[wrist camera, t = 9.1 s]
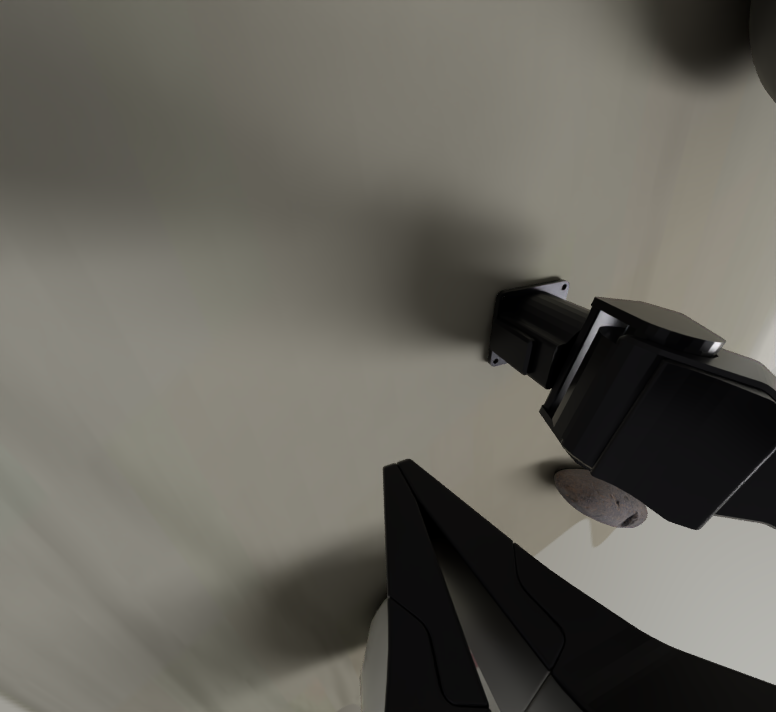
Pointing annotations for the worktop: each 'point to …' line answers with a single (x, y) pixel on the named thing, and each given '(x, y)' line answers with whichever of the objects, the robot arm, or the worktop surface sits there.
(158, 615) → the worktop surface
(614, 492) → the perforated stone tool
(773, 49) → the coal bowl
